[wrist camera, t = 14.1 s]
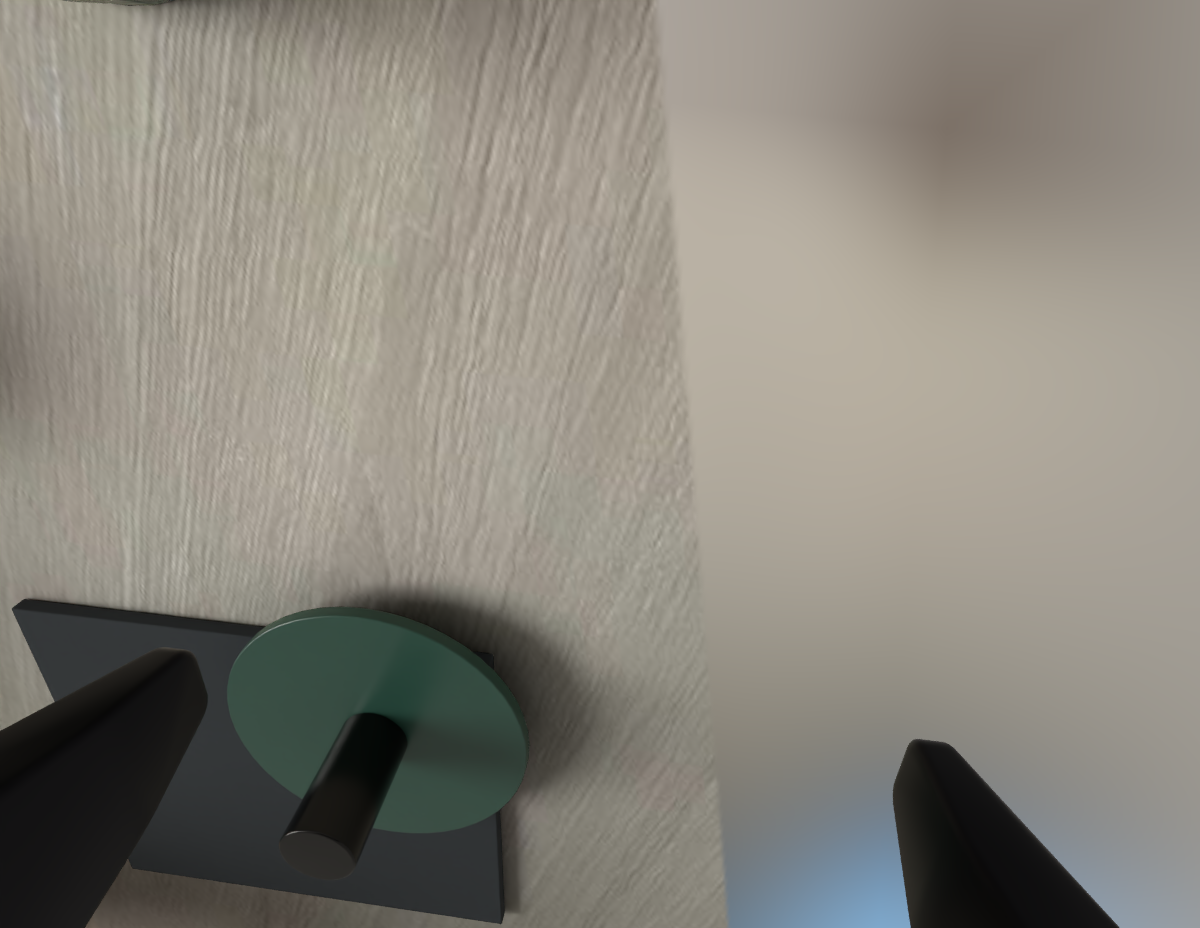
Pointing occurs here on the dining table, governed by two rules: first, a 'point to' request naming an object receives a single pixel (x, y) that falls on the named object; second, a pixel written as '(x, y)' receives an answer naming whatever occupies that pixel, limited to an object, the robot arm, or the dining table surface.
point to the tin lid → (374, 730)
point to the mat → (253, 780)
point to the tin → (124, 2)
